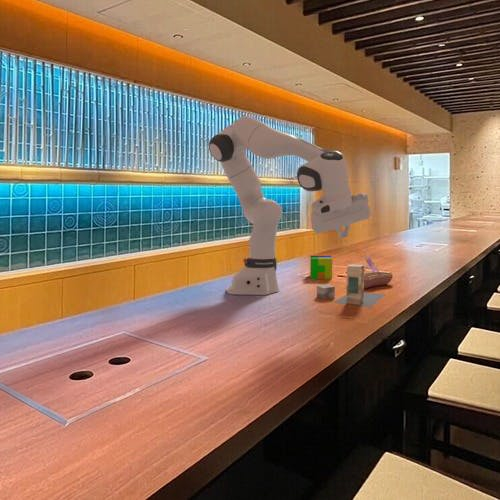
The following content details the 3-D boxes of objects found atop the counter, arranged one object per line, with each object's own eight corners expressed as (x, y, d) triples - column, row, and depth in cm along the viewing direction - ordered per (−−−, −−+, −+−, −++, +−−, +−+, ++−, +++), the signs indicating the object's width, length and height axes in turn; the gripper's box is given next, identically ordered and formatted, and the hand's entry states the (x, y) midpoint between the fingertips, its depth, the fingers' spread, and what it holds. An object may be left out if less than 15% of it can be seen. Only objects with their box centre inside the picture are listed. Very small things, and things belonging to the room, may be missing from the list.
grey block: (323, 300, 181) (324, 288, 180) (316, 298, 186) (316, 285, 185) (334, 299, 183) (334, 286, 183) (327, 296, 188) (327, 284, 187)
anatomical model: (363, 292, 196) (363, 280, 196) (345, 288, 204) (345, 276, 203) (396, 285, 210) (397, 274, 209) (378, 281, 218) (378, 271, 217)
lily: (363, 279, 229) (373, 262, 226) (349, 266, 239) (359, 250, 236) (379, 283, 236) (389, 268, 233) (365, 271, 245) (375, 256, 242)
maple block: (359, 304, 173) (360, 267, 171) (346, 302, 175) (346, 266, 173) (363, 301, 177) (364, 264, 175) (350, 300, 180) (351, 264, 178)
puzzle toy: (330, 275, 234) (330, 255, 233) (332, 279, 224) (332, 258, 223) (310, 275, 235) (310, 255, 234) (311, 279, 225) (311, 258, 224)
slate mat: (370, 307, 169) (370, 306, 169) (333, 303, 176) (333, 302, 176) (385, 295, 188) (385, 294, 188) (351, 292, 195) (351, 291, 195)
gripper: (363, 188, 159) (367, 224, 165) (306, 205, 157) (313, 241, 163) (371, 193, 153) (375, 231, 160) (312, 211, 151) (319, 248, 157)
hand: (343, 236), depth 161 cm, fingers closed
